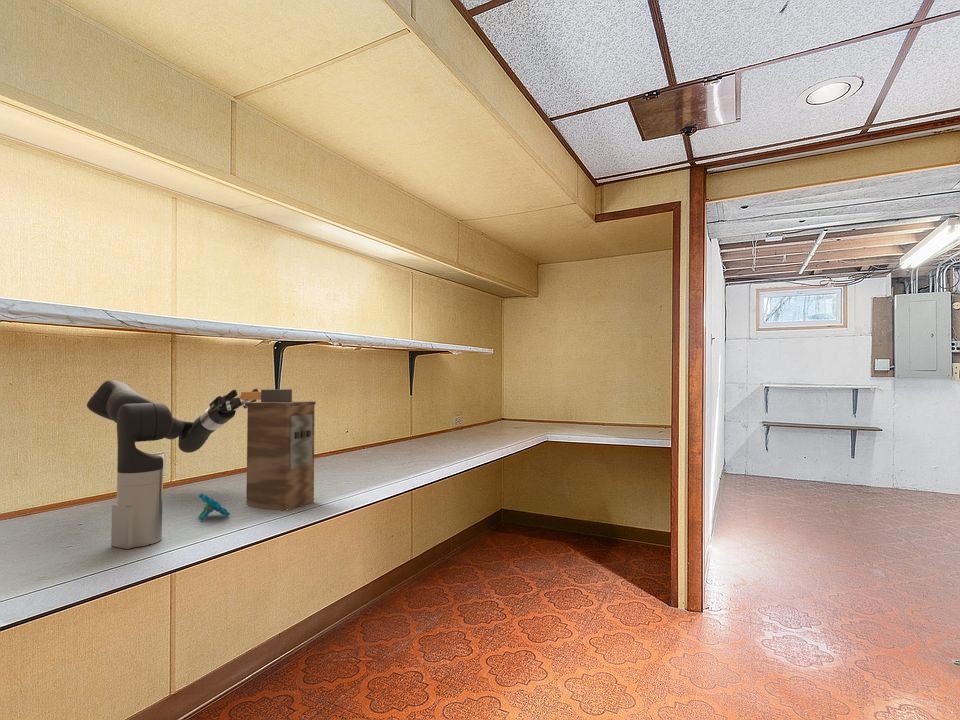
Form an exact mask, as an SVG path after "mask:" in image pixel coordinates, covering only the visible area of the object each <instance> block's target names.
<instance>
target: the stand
mask: <svg viewBox="0 0 960 720" xmlns="http://www.w3.org/2000/svg"><path fill="white" fill-rule="evenodd" d="M315 405H317V404H316V401H307V400H305V401H304V400H303V401H298V400H297V401H296V400H295V401H294V400H292V402H261V401H256V402H249V403H245V406H248V407H247V418H246V419H247V422H246V423H247V425H246V426H247V427H246V429H247V432H246V436H247V439H246V496H245V497H246V501H245V502H246V504H245V505H248V506H247V507H252V506H253V507H254V508H261V509H268V510H269V509H270V510H275V509H278V510H277V511H283V510H286V511H288V510H287V509H289V510H291V509H290V508H292V509H294V508H293V507H296V508H298V507H297V506H299V507H302V506H305V505H308V504H311V503H310V502H312V503H314V502H315V488H314V487H315ZM313 501H314V502H313ZM307 503H308V504H307ZM304 504H305V505H304ZM301 505H302V506H301Z"/></svg>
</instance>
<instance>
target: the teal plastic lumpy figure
mask: <svg viewBox="0 0 960 720" xmlns="http://www.w3.org/2000/svg"><path fill="white" fill-rule="evenodd" d="M198 498H199V499H201V501H202V502H203V503H204V504H203V507H202V509H203V510H202V511H201V512H200V513H199V514H198V518H199V520H200V521H201V522H203V521H204V520H206V518H207V517H208V516H209V515H210V513H213V512H214V511H216V512H217V513H220V515H221V516H225V517H226V516H227V517H229V516H230V515H231V513H230V511H228V510H227V508H226V507H222V504H220V503H219V502H218V501H216V500H214V499H213V498H212V497H209V496H208V495H207V494H204V493H202V492H201V493H200V494H199V495H198Z"/></svg>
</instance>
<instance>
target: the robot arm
mask: <svg viewBox="0 0 960 720" xmlns="http://www.w3.org/2000/svg"><path fill="white" fill-rule="evenodd" d="M250 392H259V390H258V388H254V389H252V391H250ZM238 394H239V393H238V392H237V389H232V390H231V391H229V393H227V394H223V396H221V395H219V396H216V398H214V399H213V401H211V402H210V403H209V407H208V408H206V410H204V412H202V414H200V415H199V416H198V417H197V418H196V419H194V421H185V420H183V419H181V420H179V419H178V418H175V417H173V414H172V413H171V410H170V408H169V407H168V406H167V405H166V404H164V403H163V402H161V403H160V402H156V401H152V399H151V400H150V399H149V398H148V397H146V396H144V395H142V394H141V393H140V392H136V391H135V389H133V388H132V387H130V386H129V385H128V384H126V383H125V382H121V381H119V380H115V379H107V380H106V381H104V382H103V383H102V384H101V385H100V386H99V387H98V388H97V390H96V391H95V392H94V393H93V394H92V396H91V397H90V398H89V400H88V402H87V403H86V408H87V409H88V410H89V411H91V412H92V413H94V414H95V415H98V416H99V417H102V418H104V419H107V420H110V421H113V422H114V423H116V437H117V440H116V441H117V443H116V444H117V469H116V471H117V473H116V503H114V504H112V506H111V528H110V529H111V530H110V531H111V534H110V535H111V536H110V537H111V538H110V546H111V547H115V548H119V549H124V550H128V549H132V548H140V547H145V546H149V544H150V545H152V544H154V543H155V544H156V543H158V542H160V541H162V539H163V503H164V502H163V499H164V498H163V495H164V493H163V492H164V491H163V490H164V458H163V457H162V456H161V455H157V454H154V453H152V454H151V453H148V452H146V451H142V450H140V449H139V448H137V447H136V443H140V442H141V443H142V442H153V441H160V440H163V439H167V440H175V439H177V438H178V441H177V442H178V445H177V446H178V449H179V450H180V451H181V452H182V453H187V454H189V453H194V452H197V451H198V450H200V449H201V448H202V447H203V445H204V444H205V443H206V441H207V440H208V439H209V437H210V436H211V434H213V433H214V432H215V431H216V430H218V429H220V428H221V427H223V426H224V425H225V424H226V423H228V422H229V421H230V420H231V419H233V418H234V417H235V416H236V412H237V411H238V410H239V409H240V408H243V409H245V410H246V409H248V406H245V403H249V402H258V400H242V401H241V395H239V396H238Z"/></svg>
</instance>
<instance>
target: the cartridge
mask: <svg viewBox="0 0 960 720" xmlns="http://www.w3.org/2000/svg"><path fill="white" fill-rule="evenodd" d="M240 396H241V399H240V400H242V401H243V400H257V401H260V402H292V401H293V389H290V388H289V389H288V388H287V389H286V388H285V389H278V388H277V389H275V388H274V389H270V388H269V389H260V391H258V392H251V391H241V392H240Z"/></svg>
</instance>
